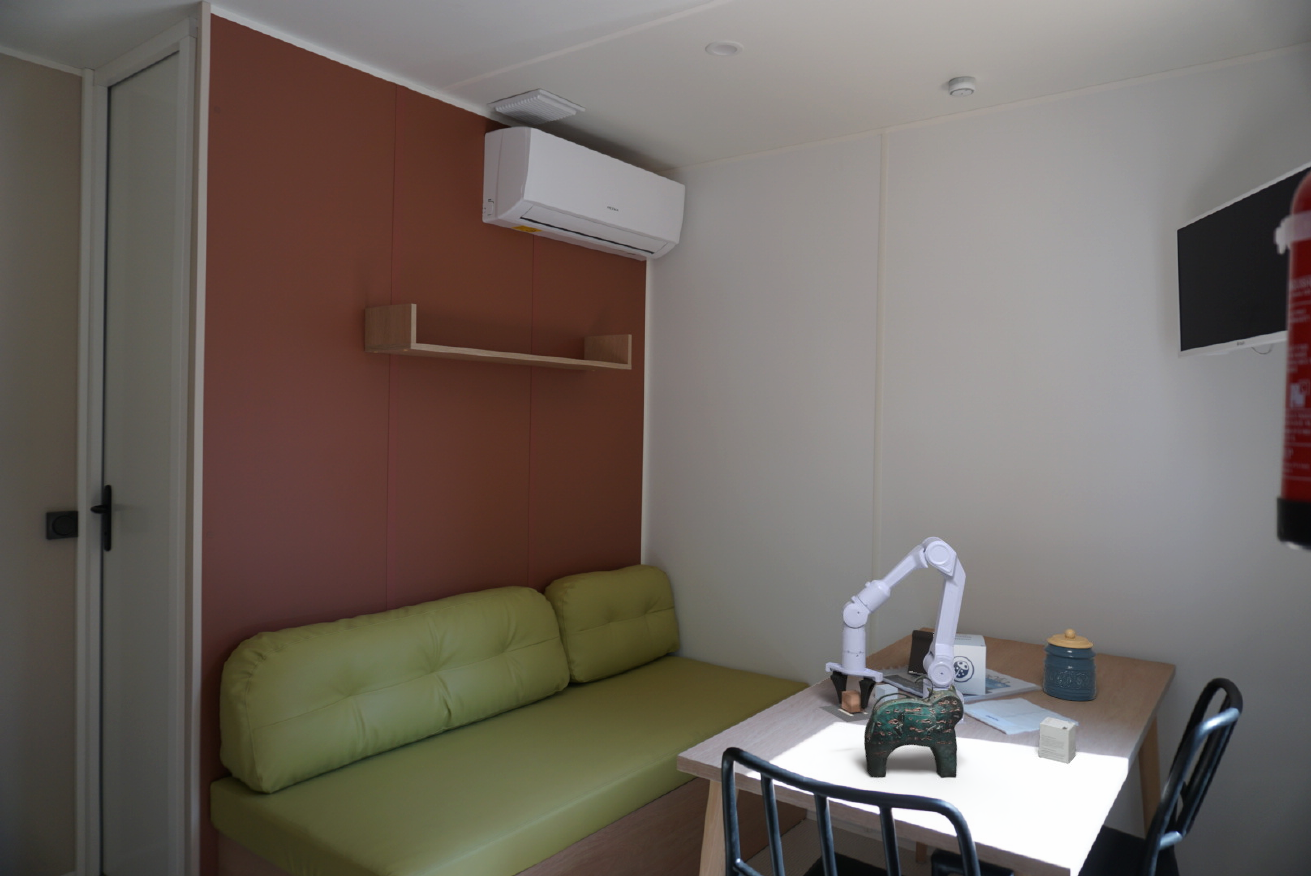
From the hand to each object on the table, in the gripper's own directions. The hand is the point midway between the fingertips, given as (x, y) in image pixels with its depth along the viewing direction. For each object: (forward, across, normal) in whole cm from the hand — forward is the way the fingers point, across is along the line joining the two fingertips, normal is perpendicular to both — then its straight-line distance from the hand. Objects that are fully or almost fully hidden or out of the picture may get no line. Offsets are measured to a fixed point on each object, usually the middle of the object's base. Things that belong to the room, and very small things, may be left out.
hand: (853, 705), depth 208 cm
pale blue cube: (+2, -2, -15) cm, 15 cm away
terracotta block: (+1, 0, 0) cm, 1 cm away
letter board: (+2, 0, 0) cm, 2 cm away
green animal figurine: (+2, -27, +26) cm, 38 cm away
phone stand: (+2, +2, -48) cm, 48 cm away
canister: (+3, -36, -55) cm, 65 cm away
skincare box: (+3, -46, -4) cm, 46 cm away
